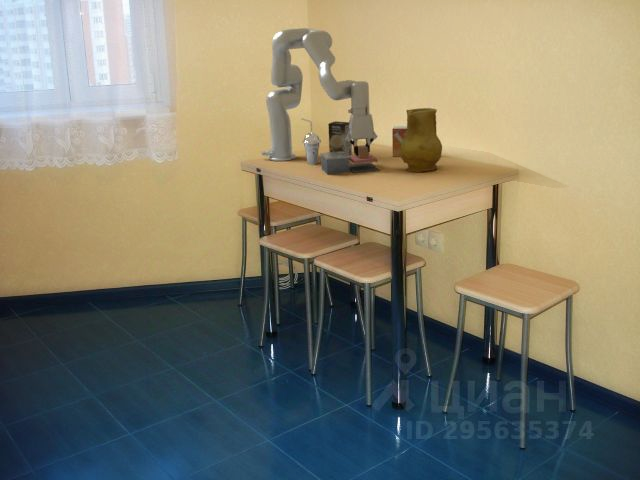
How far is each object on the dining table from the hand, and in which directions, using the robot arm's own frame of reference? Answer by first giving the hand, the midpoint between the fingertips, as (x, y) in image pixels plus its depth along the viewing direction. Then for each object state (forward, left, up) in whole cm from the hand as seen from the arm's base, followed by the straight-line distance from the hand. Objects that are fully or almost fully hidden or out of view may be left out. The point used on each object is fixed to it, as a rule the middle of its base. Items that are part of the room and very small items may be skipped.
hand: (361, 154), depth 313 cm
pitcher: (+23, -12, -6) cm, 27 cm away
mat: (0, 0, -6) cm, 6 cm away
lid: (0, 0, -2) cm, 2 cm away
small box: (+24, +19, -6) cm, 31 cm away
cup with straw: (-18, +19, -6) cm, 27 cm away
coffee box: (-3, +27, -6) cm, 28 cm away
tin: (-12, 0, -6) cm, 13 cm away
